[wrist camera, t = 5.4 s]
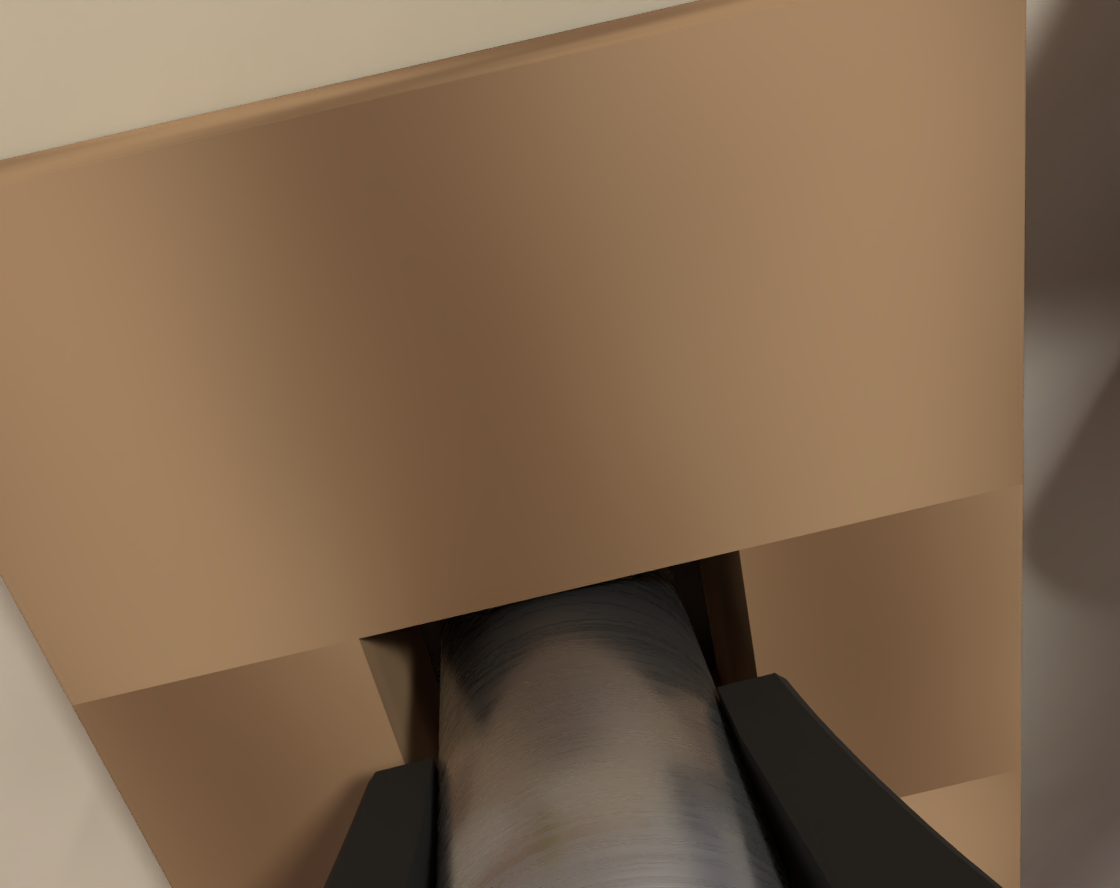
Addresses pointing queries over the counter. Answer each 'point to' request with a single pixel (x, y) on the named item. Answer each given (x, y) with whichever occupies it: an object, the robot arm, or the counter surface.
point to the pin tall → (591, 749)
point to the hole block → (529, 402)
